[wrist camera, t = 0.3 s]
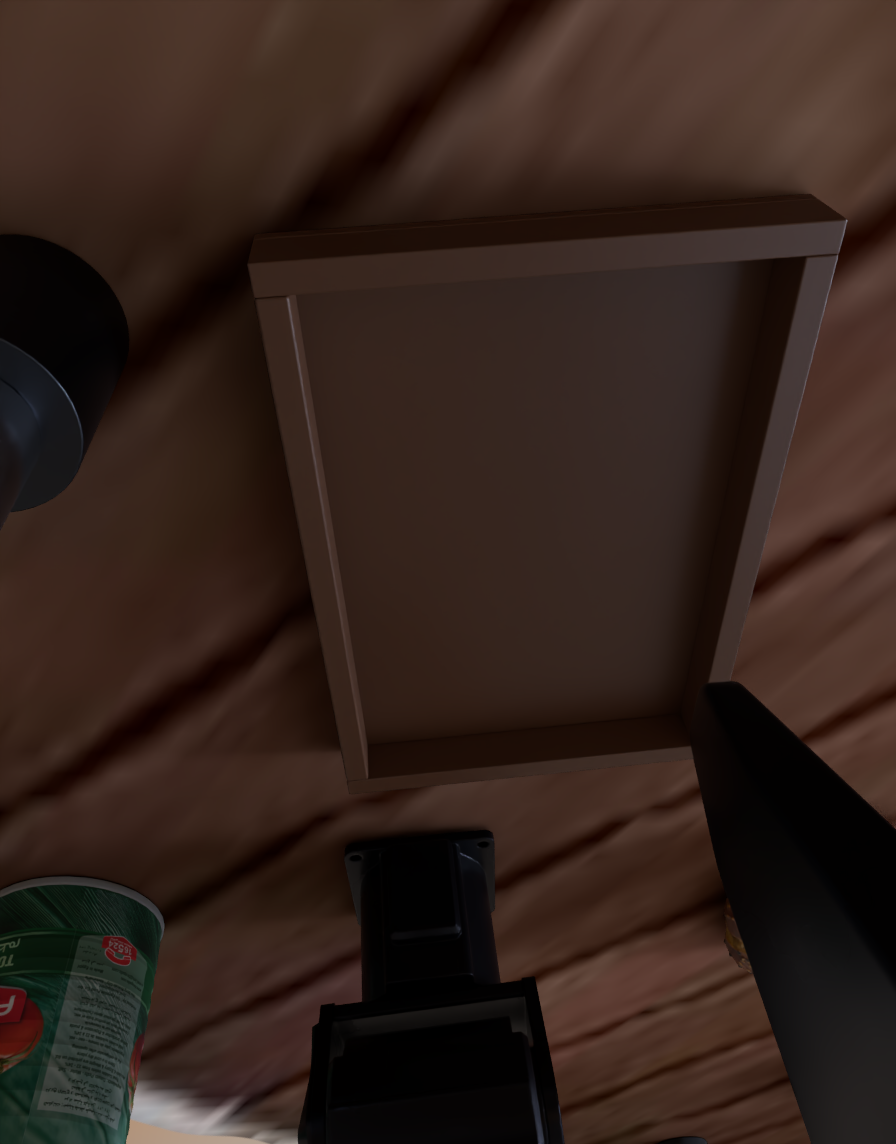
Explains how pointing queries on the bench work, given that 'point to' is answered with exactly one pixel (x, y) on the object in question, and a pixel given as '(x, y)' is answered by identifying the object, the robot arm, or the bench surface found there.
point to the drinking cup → (686, 1141)
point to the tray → (537, 469)
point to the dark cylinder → (52, 366)
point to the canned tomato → (73, 1007)
